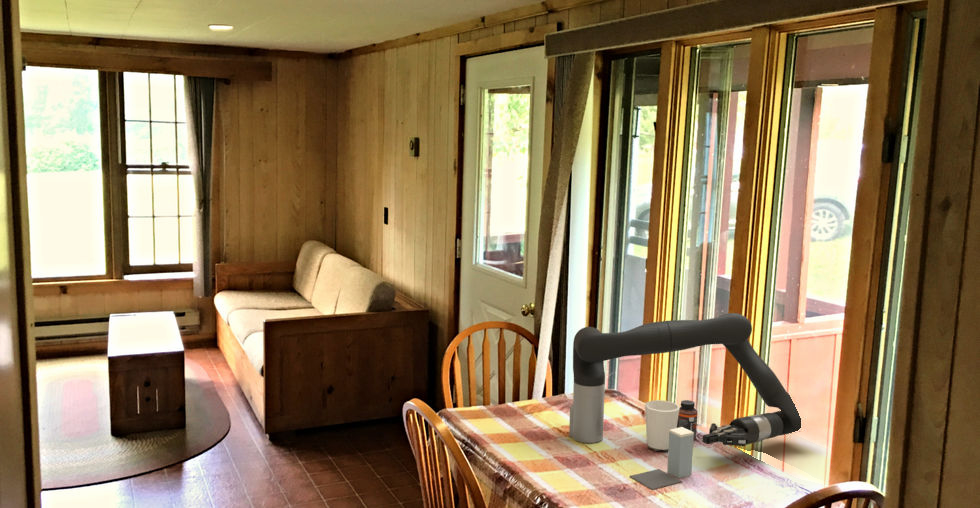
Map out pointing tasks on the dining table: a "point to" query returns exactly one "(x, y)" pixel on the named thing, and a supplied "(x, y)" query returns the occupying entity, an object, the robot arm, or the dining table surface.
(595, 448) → the dining table surface
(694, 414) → the supplement bottle
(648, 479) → the mat
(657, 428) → the cup
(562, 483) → the dining table surface
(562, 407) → the dining table surface
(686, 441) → the block
